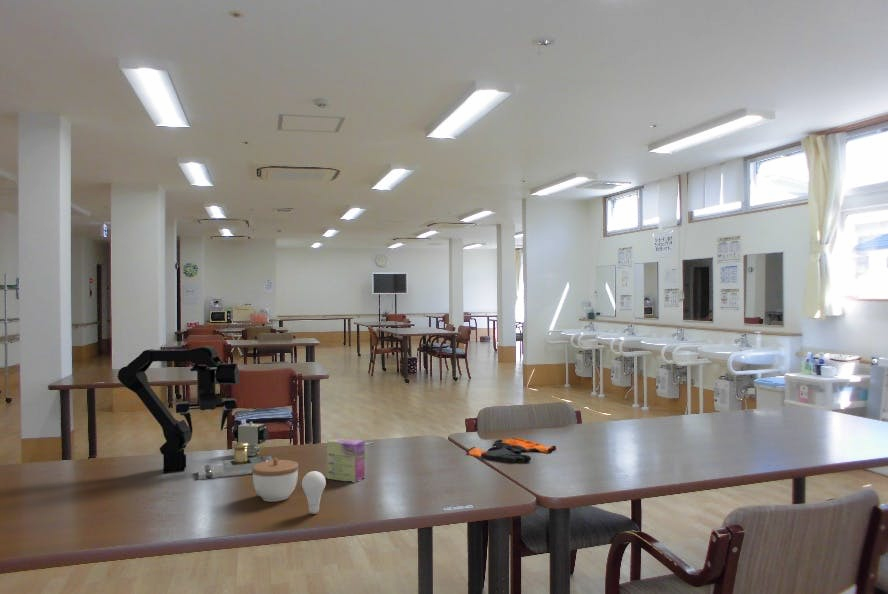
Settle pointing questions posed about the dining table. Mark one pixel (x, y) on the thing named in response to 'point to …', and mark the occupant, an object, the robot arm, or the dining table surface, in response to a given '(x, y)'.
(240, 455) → the brass knob
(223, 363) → the robot arm
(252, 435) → the pneumatic valve
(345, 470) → the box
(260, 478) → the lidded bowl
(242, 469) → the silver plate
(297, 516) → the dining table surface
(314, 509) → the lightbulb
